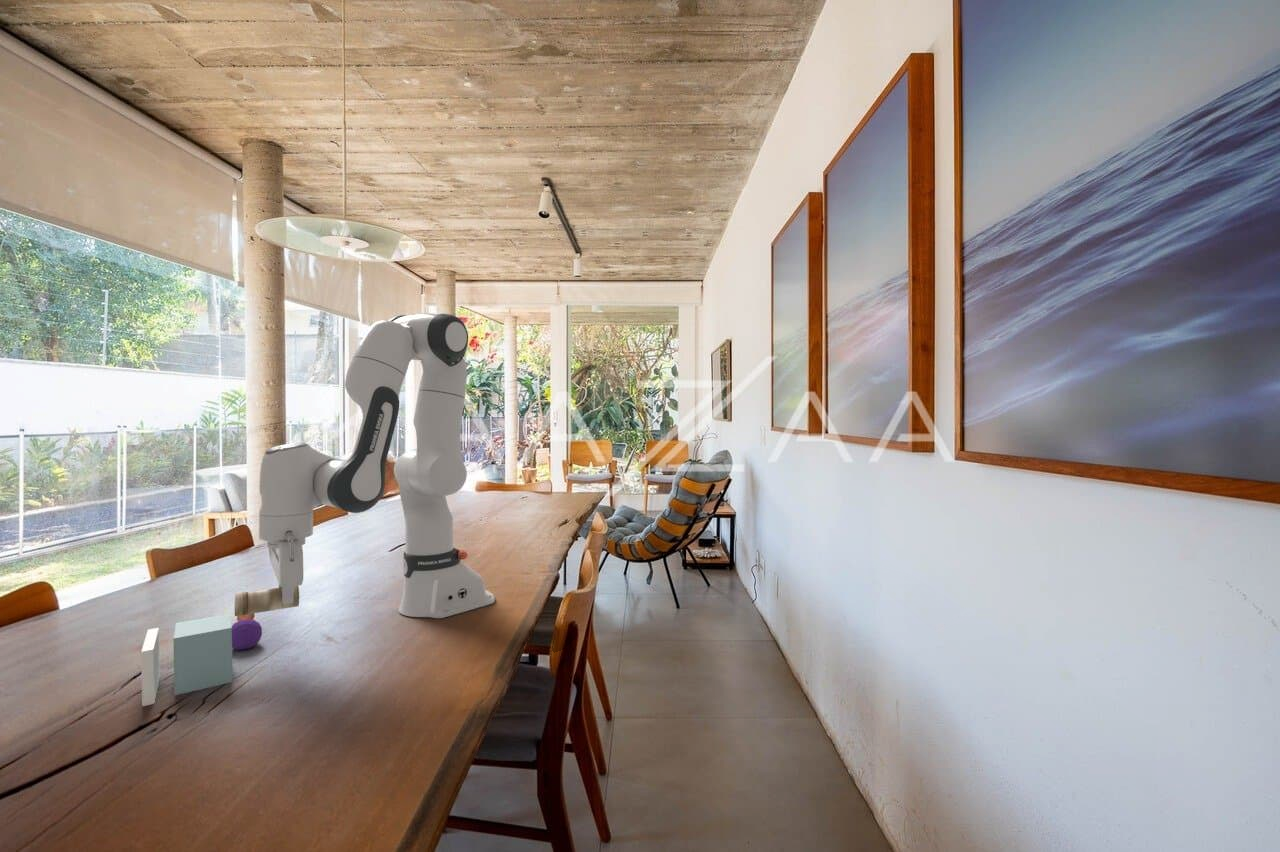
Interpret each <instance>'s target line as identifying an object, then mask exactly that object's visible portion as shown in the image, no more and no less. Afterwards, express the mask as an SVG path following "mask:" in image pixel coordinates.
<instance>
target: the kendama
mask: <svg viewBox="0 0 1280 852" xmlns="http://www.w3.org/2000/svg"><path fill="white" fill-rule="evenodd" d="M236 620H237V622H234V624H231V626H232V650H233V649H234V650H236V651H244V650H245V651H246V650H250V649H251V648H253V647H255V646H256V645H257V644H258V643H259V642H260V640H261V638H262V636H263V628H262V625H261V624H260V623H259V621H257V620H255V613H252V614H247V615H239V616H236Z"/></svg>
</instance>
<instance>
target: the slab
mask: <svg viewBox="0 0 1280 852" xmlns="http://www.w3.org/2000/svg"><path fill="white" fill-rule="evenodd" d="M140 653H141V659H140V661H141V703H142V704H141V705H142V706H141V707H146V706H150V705H154V704H155V701H156V697H157V691H158V687H159V683H160V678H161V675H160V674H161V673H160V672H161V671H160V670H161V669H160V668H161V665H160V627H156V628H149V629H147V632H146V635H145V637H144V641H143V645H142V647H141V652H140Z"/></svg>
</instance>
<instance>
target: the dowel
mask: <svg viewBox="0 0 1280 852" xmlns="http://www.w3.org/2000/svg"><path fill="white" fill-rule="evenodd" d="M299 587H300V586H295V589H294V596H293V602H292V603H291V604H283V603H282V588H279V587H276V588H275V587H274V588H268V589H267V588H266V589H261V590H253V591H245V592H243V591H242V592H238V593H234V617H237V616H239V615H247V614H252V613H254V614H257V613H265V612H269V611H270V612H271V611H277V610H283V609H284V610H285V609H289V608H295V607H296V608H297V607H299V606H300V589H299Z"/></svg>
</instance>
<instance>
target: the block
mask: <svg viewBox="0 0 1280 852" xmlns="http://www.w3.org/2000/svg"><path fill="white" fill-rule="evenodd" d="M231 616H232V615H231V613H225V614H220V615H215V616H209V617H203V618H196V619H191V620H186V621H179V622H176V623H175V627H174V633H173V638H172V639H173V677H174V678H173V682H174V683H173V685H174V686H173V687H174V688H173V691H174V695H173V696H178V695H183V694H188V693H191V692H195V691H200V690H204V689H209V688H213V687H217V686H221V685H227V684H231V683H233V648H232V617H231Z"/></svg>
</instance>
